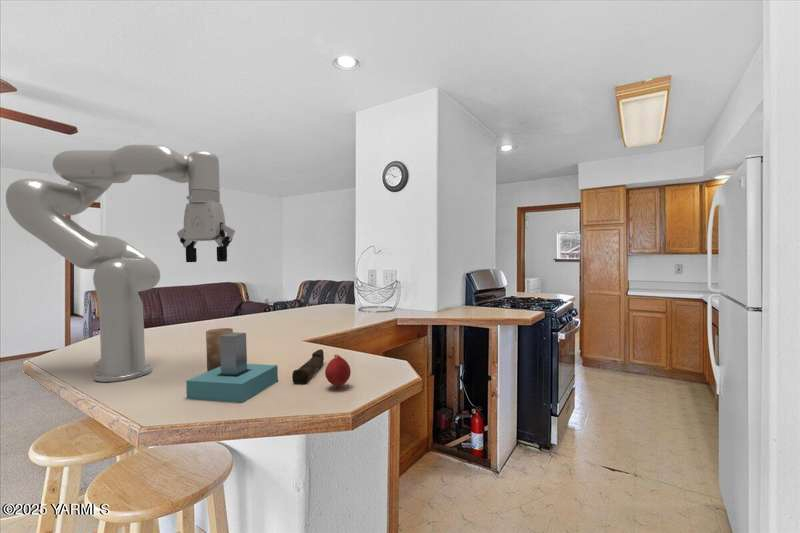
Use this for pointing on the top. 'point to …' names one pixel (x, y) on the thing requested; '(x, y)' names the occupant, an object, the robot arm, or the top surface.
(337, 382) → the onion
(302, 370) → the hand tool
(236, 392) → the socket block
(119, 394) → the top surface
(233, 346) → the square peg
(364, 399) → the top surface
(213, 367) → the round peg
